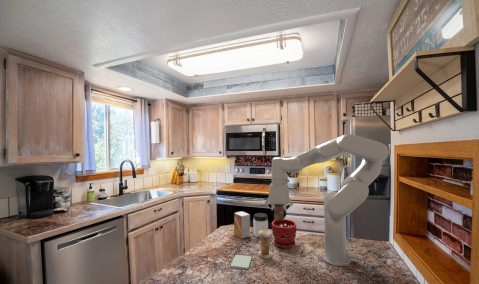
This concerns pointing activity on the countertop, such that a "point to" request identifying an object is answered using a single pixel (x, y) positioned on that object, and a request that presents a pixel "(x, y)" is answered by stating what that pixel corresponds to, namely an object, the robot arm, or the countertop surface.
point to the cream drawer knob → (265, 244)
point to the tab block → (278, 212)
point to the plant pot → (284, 233)
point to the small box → (242, 224)
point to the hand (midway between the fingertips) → (278, 217)
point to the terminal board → (241, 262)
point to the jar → (259, 223)
